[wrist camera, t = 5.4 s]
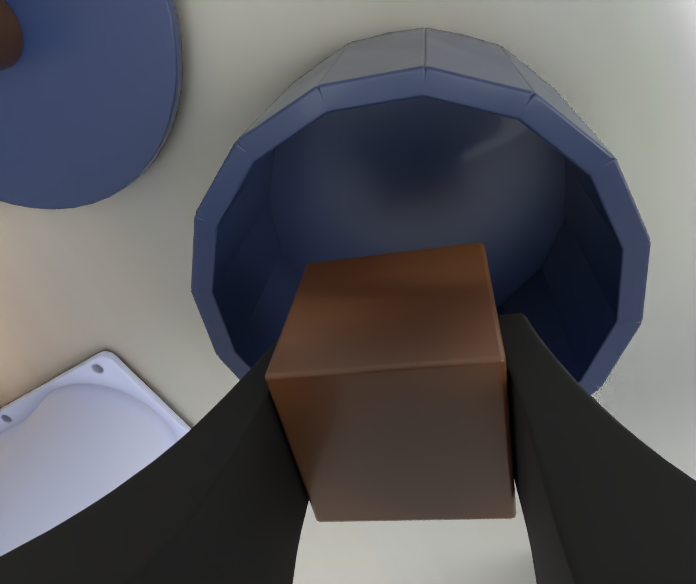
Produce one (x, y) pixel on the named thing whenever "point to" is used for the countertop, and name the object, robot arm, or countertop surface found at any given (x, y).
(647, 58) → the countertop surface
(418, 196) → the tin
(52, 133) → the tin lid
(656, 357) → the countertop surface
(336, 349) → the walnut block
